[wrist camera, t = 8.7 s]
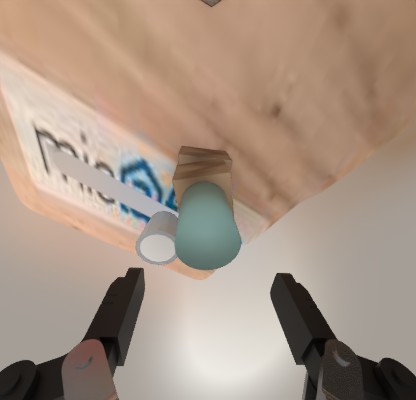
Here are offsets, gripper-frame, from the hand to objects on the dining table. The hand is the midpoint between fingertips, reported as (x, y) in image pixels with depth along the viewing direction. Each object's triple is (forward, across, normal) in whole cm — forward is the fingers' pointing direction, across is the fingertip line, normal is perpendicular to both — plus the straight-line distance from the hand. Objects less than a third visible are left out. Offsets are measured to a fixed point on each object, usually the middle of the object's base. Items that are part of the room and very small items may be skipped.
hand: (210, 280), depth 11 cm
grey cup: (+22, +6, +11) cm, 25 cm away
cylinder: (+10, 0, 0) cm, 10 cm away
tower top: (+16, 0, 0) cm, 16 cm away
